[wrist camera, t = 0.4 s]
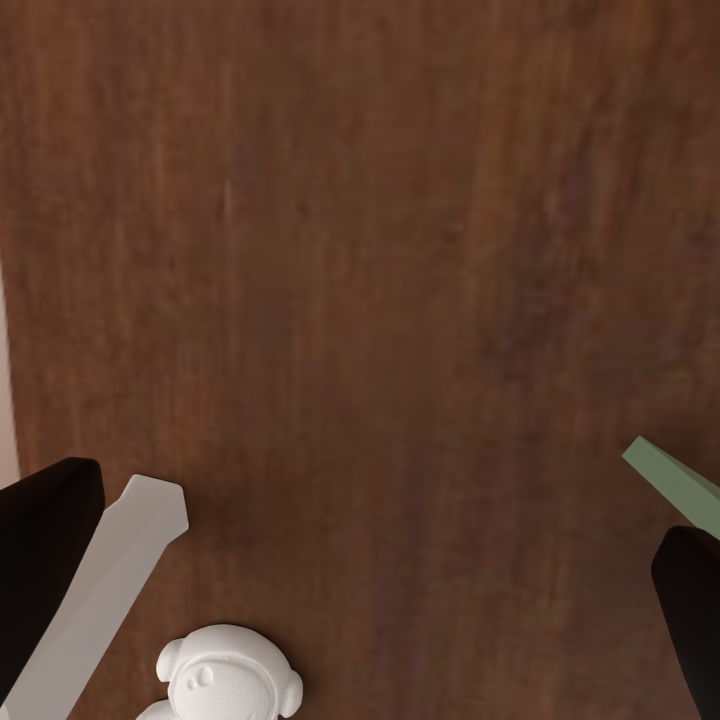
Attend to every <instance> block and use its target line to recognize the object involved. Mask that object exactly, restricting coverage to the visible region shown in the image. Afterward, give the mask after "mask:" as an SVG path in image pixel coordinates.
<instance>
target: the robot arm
mask: <svg viewBox="0 0 720 720" xmlns="http://www.w3.org/2000/svg"><path fill="white" fill-rule="evenodd" d="M104 508H105V494H104V488H103V481H102V474H101V468H100V465H99V463H98V462H97V461H96V460H94V459H89V458H80V457H68V458H66V459H63V460H61V461H59V462H57V463H55V464H53V465H51V466H49V467H47V468H45V469H43V470H41V471H39V472H37V473H34V474H32V475H30V476H28V477H26V478H24V479H22V480H20V481H18V482H16V483H14V484H12V485H10V486H8V487H6V488H4V489H2V490H0V708H1V706H2V705H3V703H4V701H5V700H6V698H7V696H8V695H9V693H10V691H11V689H12V688H13V686H14V684H15V683H16V681H17V679H18V678H19V676H20V674H21V673H22V671H23V669H24V667H25V666H26V664H27V662H28V661H29V659H30V657H31V656H32V654H33V652H34V651H35V649H36V647H37V645H38V644H39V642H40V640H41V639H42V637H43V635H44V634H45V632H46V630H47V629H48V627H49V625H50V623H51V622H52V620H53V618H54V616H55V615H56V613H57V611H58V609H59V607H60V605H61V603H62V601H63V599H64V597H65V595H66V593H67V591H68V589H69V587H70V585H71V582H72V580H73V578H74V576H75V574H76V572H77V569H78V567H79V565H80V563H81V561H82V559H83V556H84V554H85V552H86V550H87V548H88V546H89V544H90V541H91V539H92V537H93V535H94V533H95V531H96V528H97V526H98V524H99V522H100V520H101V518H102V515H103V512H104ZM651 575H652V579H653V583H654V586H655V589H656V592H657V595H658V598H659V601H660V604H661V607H662V611H663V614H664V617H665V620H666V623H667V626H668V629H669V632H670V636H671V639H672V642H673V645H674V648H675V651H676V654H677V657H678V661H679V663H680V666H681V669H682V672H683V675H684V678H685V680H686V683H687V685H688V688H689V690H690V693H691V695H692V697H693V700H694V702H695V704H696V707H697V709H698V712H699V714H700V716H701V719H702V720H720V540H719V539H717V538H716V537H714V536H713V535H711V534H710V533H708V532H707V531H705V530H703V529H701V528H697V527H689V526H680V525H676V526H673V527H671V528H670V529H669V530H668V531H667V533H666V535H665V537H664V539H663V541H662V543H661V545H660V547H659V549H658V551H657V553H656V555H655V557H654V558H653V561H652V565H651Z"/></svg>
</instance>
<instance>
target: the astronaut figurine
mask: <svg viewBox="0 0 720 720" xmlns="http://www.w3.org/2000/svg"><path fill="white" fill-rule="evenodd" d="M156 669H157V675H158V678H159V679H160V681H162V682H166V681H170V684H169V687H168V697H169V699H167V700H163V701H159V702H156V703H154V704H152V705H150V706H149V707H148V708H147V709H146V710H145V711H143V712H142V713H141V714H140V715H139V716H138V717H137V719H136V720H277V717H278V714H281V715H282V716H283V717H285V718H288V717H290V716H292V715H293V714H294V713H295V712H296V711H297V710H298V708H299V707H300V705H301V702H302V696H303V684H302V680H301V678H300V676H299V675H298V674H297V673H296V672H295V671H293V670H291V669H290V665H289V663H288V661H287V659H286V658H285V656H284V655H283V653H282V652H281V651H280V650H279V649H278V648H277V646H275V645H274V644H273V643H272V642H270V641H269V640H268V639H266V638H265V637H263V636H261V635H260V634H258V633H257V632H254V631H252V630H250V629H247V628H243V627H239V626H234V625H227V624H221V625H211V626H207V627H204V628H201V629H198V630H196V631H194V632H192V633H190V634H189V635H188V636H187V637H185V638H182V639H176V640H173V641H171V642H170V643H168V644H167V645H166V647H165V648H164V649H163V650H162V652H161V654H160V656H159V659H158V662H157V667H156Z"/></svg>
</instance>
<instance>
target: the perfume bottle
mask: <svg viewBox="0 0 720 720" xmlns="http://www.w3.org/2000/svg"><path fill="white" fill-rule="evenodd" d="M188 528H189V524H188V518H187V512H186V506H185V500H184V495H183V490H182V487H181V486H180V485H178V484H175V483H171V482H167V481H163V480H159V479H155V478H151V477H147V476H143V475H138V474H135V475H133V476H132V477H131V479H130V481H129V482H128V484H127V486H126V488H125V490H124V492H123V493H122V495H121V497H120V499H119V500H117V501H116V502H115V503H114V504H112V505H111V506H110V507H109V508H107V509H106V510H105V511H104V512H103V515H102V518H101V520H100V522H99V524H98V526H97V528H96V531H95V533H94V535H93V537H92V539H91V541H90V544H89V546H88V548H87V550H86V552H85V554H84V556H83V559H82V561H81V563H80V565H79V567H78V569H77V572H76V574H75V576H74V578H73V580H72V582H71V585H70V587H69V589H68V591H67V593H66V595H65V597H64V599H63V601H62V603H61V605H60V607H59V609H58V611H57V613H56V615H55V616H54V618H53V620H52V622H51V623H50V625H49V627H48V629H47V630H46V632H45V634H44V635H43V637H42V639H41V640H40V642H39V644H38V645H37V647H36V649H35V651H34V652H33V654H32V656H31V657H30V659H29V661H28V662H27V664H26V666H25V667H24V669H23V671H22V673H21V674H20V676H19V678H18V679H17V681H16V683H15V684H14V686H13V688H12V689H11V691H10V693H9V695H8V696H7V698H6V700H5V701H4V703H3V705H2V706H1V708H0V720H66V718H67V717H68V715H69V713H70V712H71V710H72V708H73V706H74V705H75V703H76V701H77V699H78V698H79V696H80V694H81V693H82V691H83V689H84V687H85V686H86V684H87V682H88V680H89V679H90V677H91V675H92V674H93V672H94V670H95V668H96V667H97V665H98V663H99V661H100V660H101V658H102V656H103V655H104V653H105V651H106V649H107V648H108V646H109V644H110V643H111V641H112V639H113V637H114V636H115V634H116V632H117V630H118V629H119V627H120V625H121V624H122V622H123V620H124V618H125V617H126V615H127V613H128V611H129V610H130V608H131V606H132V605H133V603H134V601H135V599H136V598H137V596H138V594H139V592H140V591H141V589H142V587H143V586H144V584H145V582H146V580H147V579H148V577H149V575H150V574H151V572H152V570H153V568H154V567H155V565H156V563H157V561H158V560H159V558H160V556H161V555H162V553H163V551H164V549H165V548H166V546H167V544H168V543H170V542H171V541H172V540H174V539H175V538H177V537H178V536H180V535H181V534H182V533H184V532H185V531H187V530H188Z"/></svg>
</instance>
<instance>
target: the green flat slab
mask: <svg viewBox="0 0 720 720" xmlns="http://www.w3.org/2000/svg"><path fill="white" fill-rule="evenodd" d="M622 457H623V458H624V459H625V460H626V461H627V462H628V463H629V464H630V465H631V466H632V467H634V468H635V469H636V470H637V471H638V472H639V473H640V474H641V475H642V476H643V477H644V478H645V479H646V480H647V481H648V482H649V483H651V484H652V485H653V486H654V487H655V488H656V489H657V490H658V491H659V492H660V493H661V494H662V495H663V496H664V497H665V498H666V499H667V500H669V501H670V502H671V503H672V504H673V505H674V506H675V507H676V508H677V509H678V510H679V511H680V512H681V513H682V514H683V515H684V516H685V517H687V518H688V519H689V520H690V521H691V522H692V523H693V524H694V525H695V526H696V527H697V528H701V529H703V530H705V531H707V532H708V533H710V534H711V535H713V536H714V537H716V538H717V539H719V540H720V488H719V487H718V486H716V485H714V484H713V483H711V482H710V481H708V480H707V479H705V478H704V477H702V476H701V475H699V474H698V473H696V472H695V471H693V470H692V469H690V468H689V467H687V466H685V465H684V464H682V463H681V462H679V461H678V460H676V459H675V458H673V457H672V456H670V455H669V454H667V453H666V452H664V451H663V450H661V449H659V448H658V447H656V446H655V445H653V444H652V443H650V442H649V441H647V440H646V439H644V438H643V437H641V436H638V437H637V438H636V440H635V441H634V442H633V443H632V444H631V445H630V447H629V448H628V449H627V450H626V451H625V452H624V454H623V455H622Z"/></svg>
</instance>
